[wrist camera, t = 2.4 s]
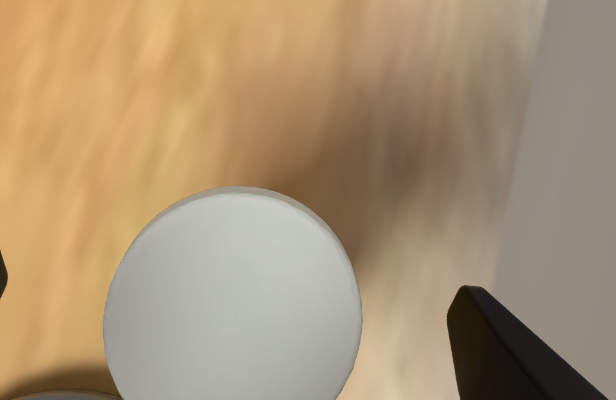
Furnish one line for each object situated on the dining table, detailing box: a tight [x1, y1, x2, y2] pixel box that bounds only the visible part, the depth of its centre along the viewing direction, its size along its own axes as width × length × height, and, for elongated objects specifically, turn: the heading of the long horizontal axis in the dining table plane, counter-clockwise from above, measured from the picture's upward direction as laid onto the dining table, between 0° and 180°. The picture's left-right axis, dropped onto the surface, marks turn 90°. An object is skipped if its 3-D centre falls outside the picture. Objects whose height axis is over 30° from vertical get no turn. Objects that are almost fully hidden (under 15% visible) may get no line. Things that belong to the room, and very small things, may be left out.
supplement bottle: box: [103, 186, 363, 400], centre depth 11 cm, size 5×5×10 cm
